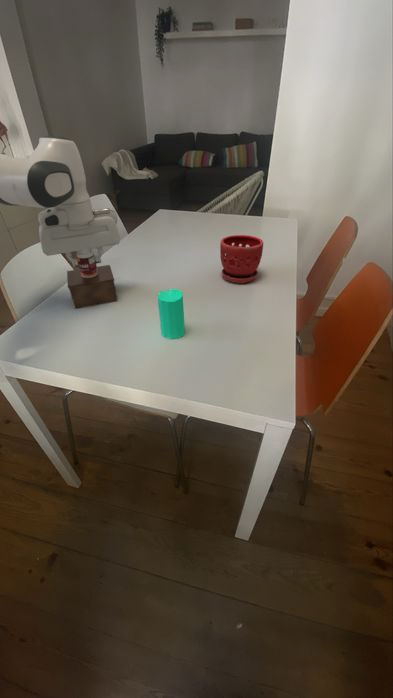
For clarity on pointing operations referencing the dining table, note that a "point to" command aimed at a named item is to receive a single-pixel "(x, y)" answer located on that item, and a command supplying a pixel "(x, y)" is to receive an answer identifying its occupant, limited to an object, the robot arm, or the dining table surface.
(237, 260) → the flower pot
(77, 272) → the walnut box
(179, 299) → the candle
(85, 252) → the pill bottle
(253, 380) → the dining table surface
